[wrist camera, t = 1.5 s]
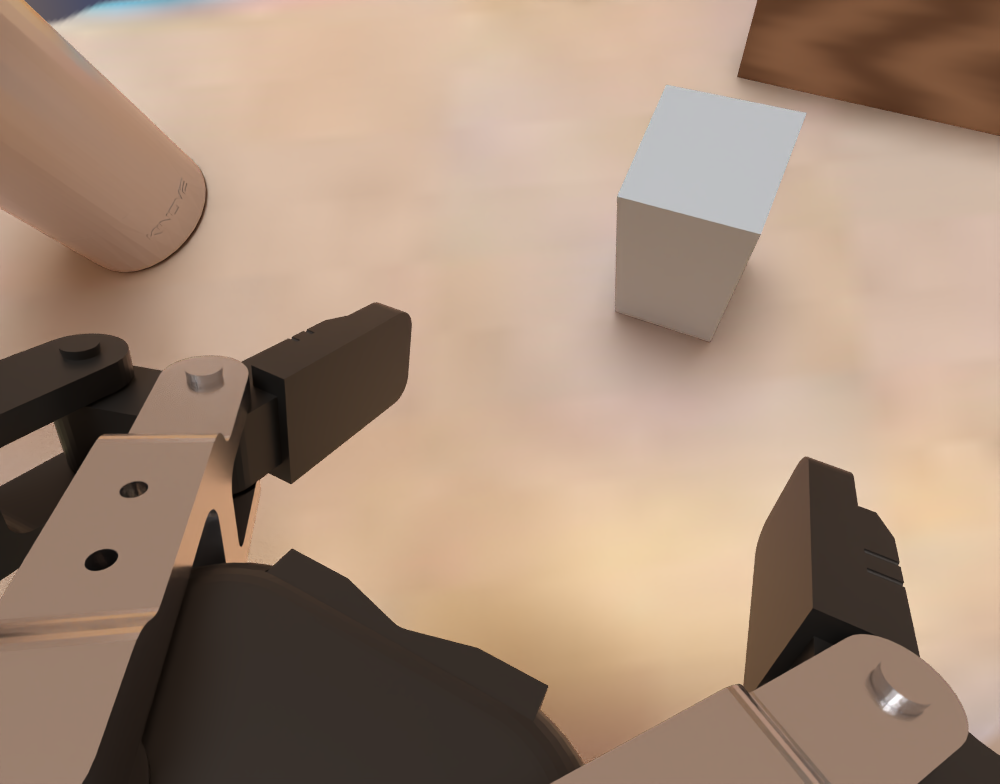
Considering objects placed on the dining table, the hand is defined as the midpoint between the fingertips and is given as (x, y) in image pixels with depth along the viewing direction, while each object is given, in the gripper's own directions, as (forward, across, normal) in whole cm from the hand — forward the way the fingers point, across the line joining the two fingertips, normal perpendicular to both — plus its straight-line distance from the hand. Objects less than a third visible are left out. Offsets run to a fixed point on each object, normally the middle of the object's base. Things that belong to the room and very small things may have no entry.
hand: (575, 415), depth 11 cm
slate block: (+20, 0, +3) cm, 21 cm away
